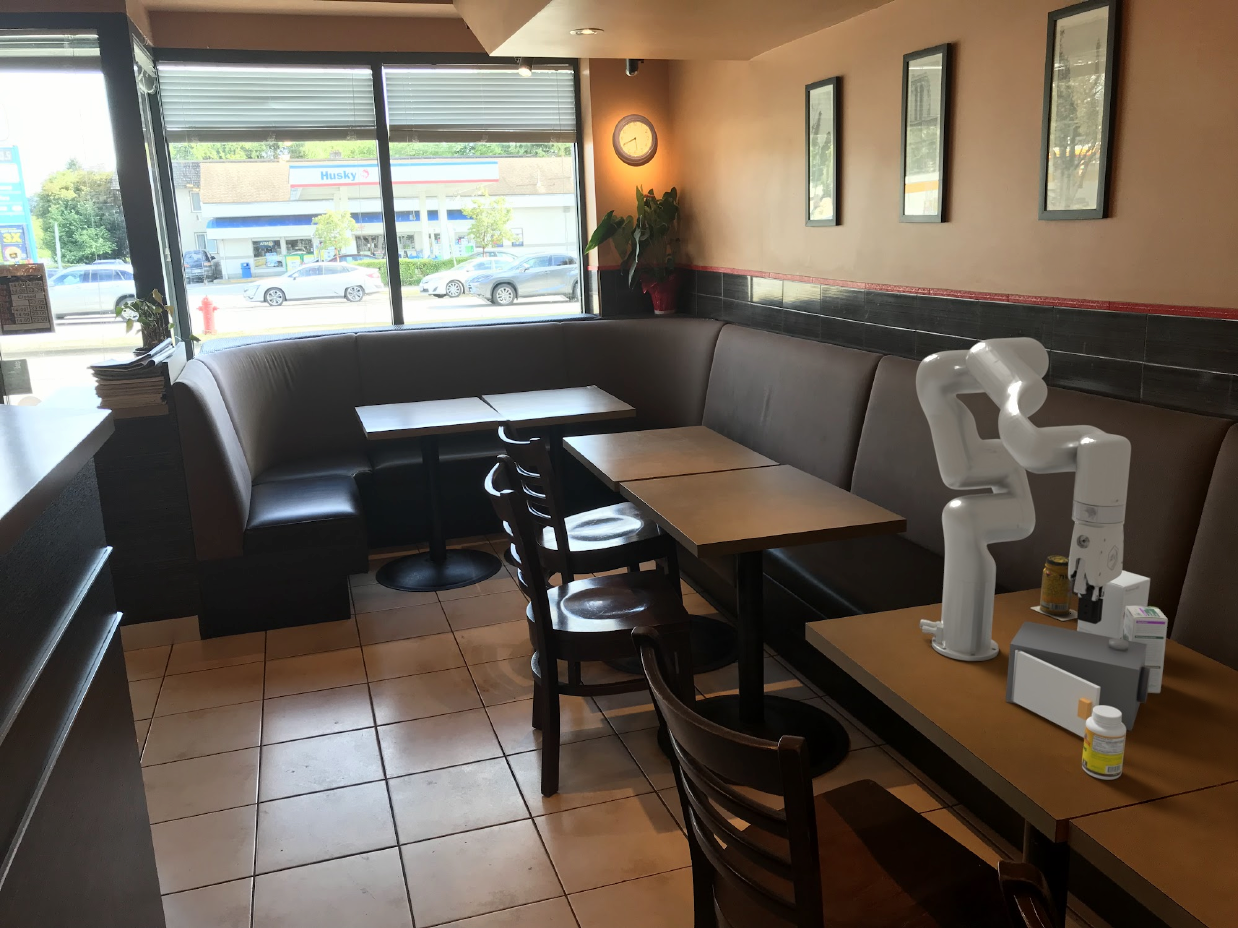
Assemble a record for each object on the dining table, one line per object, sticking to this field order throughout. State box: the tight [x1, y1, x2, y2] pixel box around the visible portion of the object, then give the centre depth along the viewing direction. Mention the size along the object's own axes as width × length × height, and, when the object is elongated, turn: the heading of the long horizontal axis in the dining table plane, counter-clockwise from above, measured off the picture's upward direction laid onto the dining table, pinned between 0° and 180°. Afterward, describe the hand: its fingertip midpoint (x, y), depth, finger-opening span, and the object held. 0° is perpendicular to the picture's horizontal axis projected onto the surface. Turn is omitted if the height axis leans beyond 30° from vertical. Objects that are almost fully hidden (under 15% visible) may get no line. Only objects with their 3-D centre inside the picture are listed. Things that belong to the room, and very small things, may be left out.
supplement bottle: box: [1081, 705, 1127, 781], centre depth 148 cm, size 6×6×10 cm
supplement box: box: [1076, 569, 1151, 639], centre depth 192 cm, size 9×9×15 cm
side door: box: [1011, 650, 1101, 739], centre depth 163 cm, size 16×2×9 cm, turn 26°
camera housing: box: [1005, 620, 1150, 732], centre depth 170 cm, size 21×12×12 cm, turn 56°
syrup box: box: [1122, 605, 1169, 694], centre depth 175 cm, size 6×6×14 cm
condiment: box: [1030, 555, 1078, 621], centre depth 210 cm, size 7×8×12 cm
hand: (1089, 620), depth 158 cm, fingers closed
